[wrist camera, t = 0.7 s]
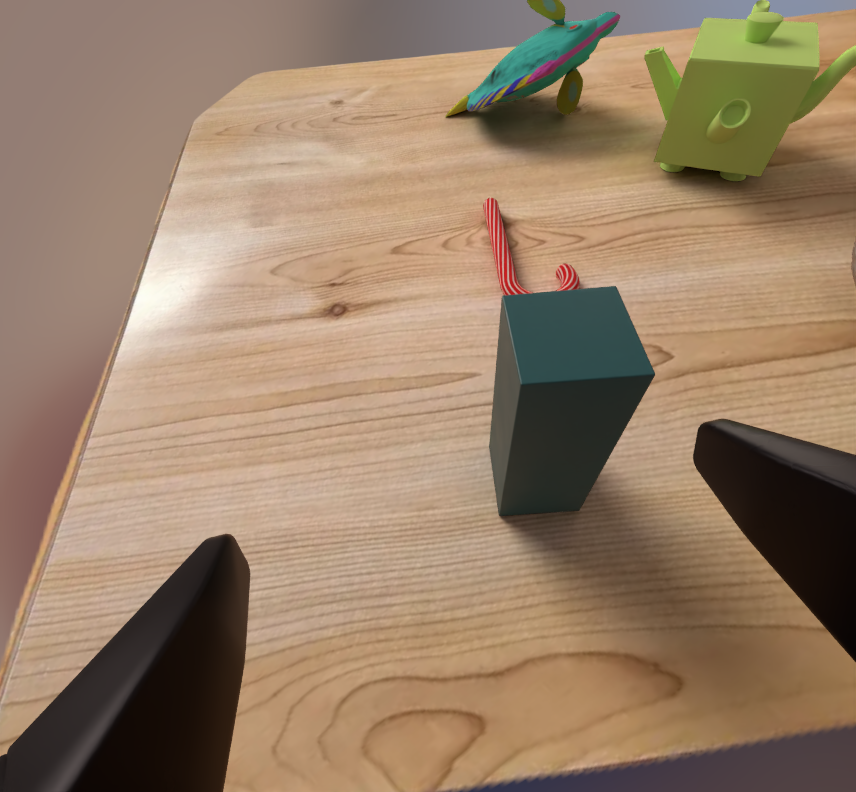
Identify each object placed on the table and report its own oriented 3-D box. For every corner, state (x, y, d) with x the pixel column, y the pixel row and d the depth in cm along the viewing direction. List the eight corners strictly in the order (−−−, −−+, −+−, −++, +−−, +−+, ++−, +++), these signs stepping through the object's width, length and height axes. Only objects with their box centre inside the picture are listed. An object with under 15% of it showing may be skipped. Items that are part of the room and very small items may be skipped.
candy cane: (544, 204, 42) (546, 189, 40) (586, 312, 33) (591, 297, 31) (481, 210, 42) (481, 195, 40) (506, 319, 33) (507, 304, 32)
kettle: (715, 113, 49) (771, -21, 40) (824, 170, 41) (925, 18, 32) (600, 145, 47) (633, 10, 38) (692, 211, 39) (762, 60, 30)
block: (579, 511, 24) (656, 374, 14) (499, 516, 24) (520, 384, 14) (561, 441, 26) (616, 285, 17) (489, 446, 27) (501, 295, 17)
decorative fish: (614, -70, 43) (577, -36, 35) (638, 68, 50) (612, 122, 42) (454, 34, 56) (400, 76, 48) (491, 133, 63) (450, 184, 55)
